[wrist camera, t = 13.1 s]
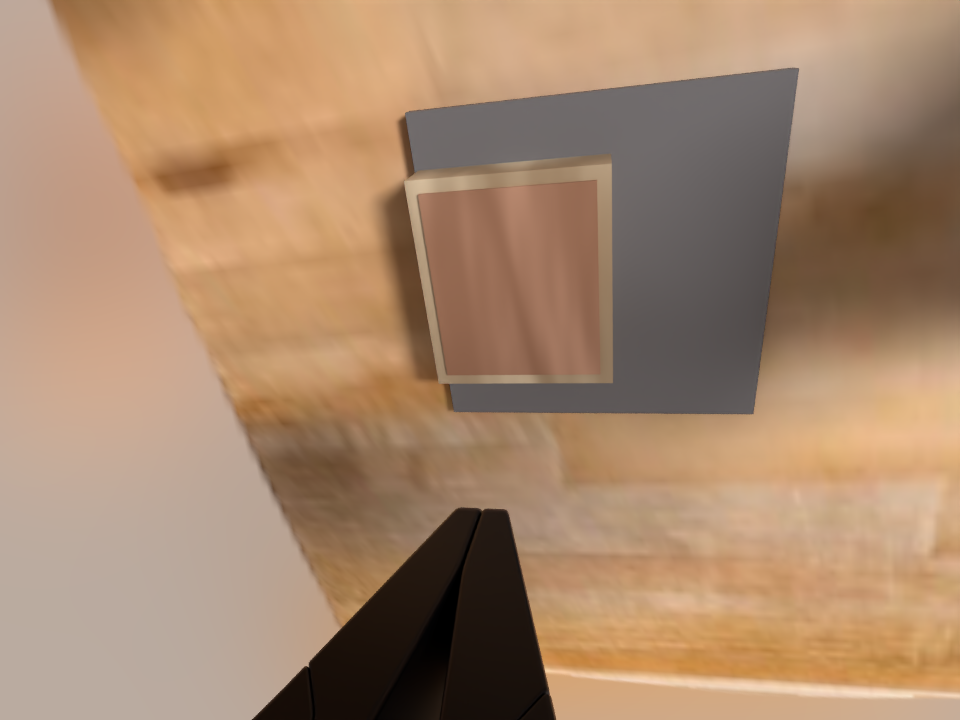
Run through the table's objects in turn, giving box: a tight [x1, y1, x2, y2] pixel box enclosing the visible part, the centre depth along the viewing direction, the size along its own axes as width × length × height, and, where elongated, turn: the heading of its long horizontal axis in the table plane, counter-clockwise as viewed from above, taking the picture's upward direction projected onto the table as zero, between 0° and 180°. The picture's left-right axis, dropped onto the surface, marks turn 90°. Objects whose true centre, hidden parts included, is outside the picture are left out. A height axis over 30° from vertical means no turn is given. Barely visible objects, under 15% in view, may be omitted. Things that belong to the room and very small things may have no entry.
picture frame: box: [404, 154, 613, 384], centre depth 18 cm, size 2×7×6 cm
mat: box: [405, 68, 799, 414], centre depth 19 cm, size 11×11×1 cm
